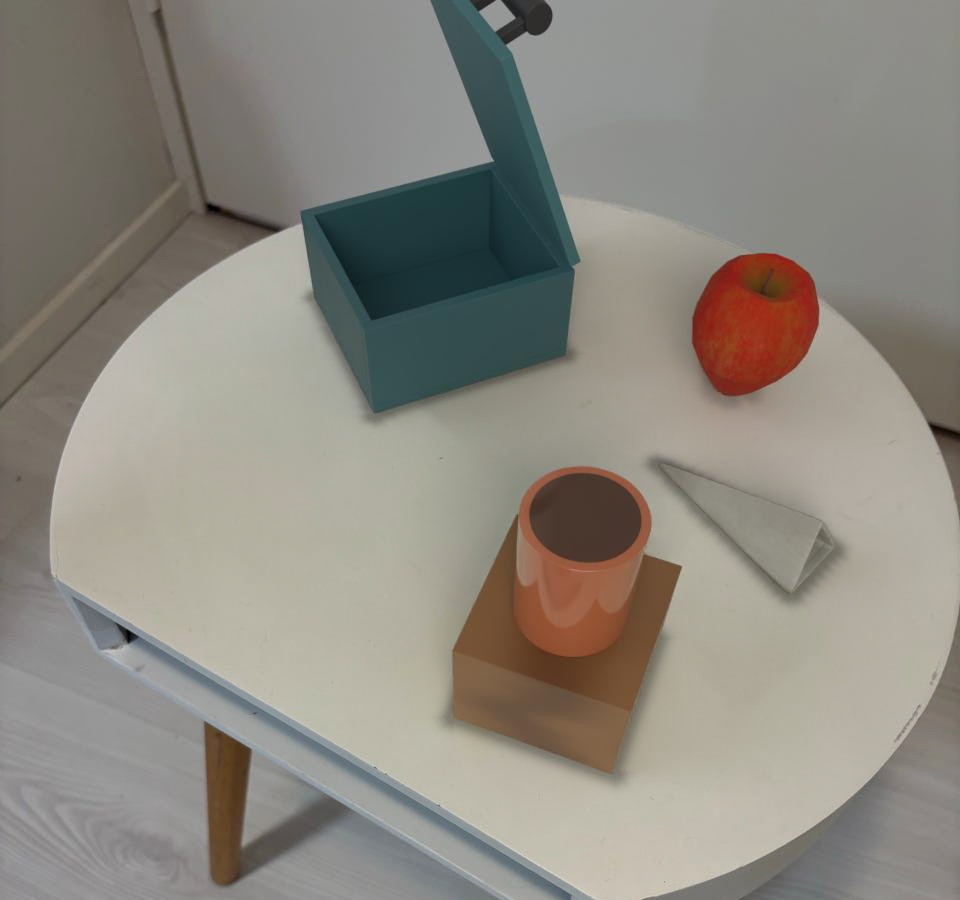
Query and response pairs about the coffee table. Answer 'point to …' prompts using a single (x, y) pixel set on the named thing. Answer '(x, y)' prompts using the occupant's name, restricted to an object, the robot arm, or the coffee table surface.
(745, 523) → the grey triangular spike
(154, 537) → the coffee table surface
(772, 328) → the apple
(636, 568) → the cup
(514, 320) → the cool box
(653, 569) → the stand
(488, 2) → the cool box lid
